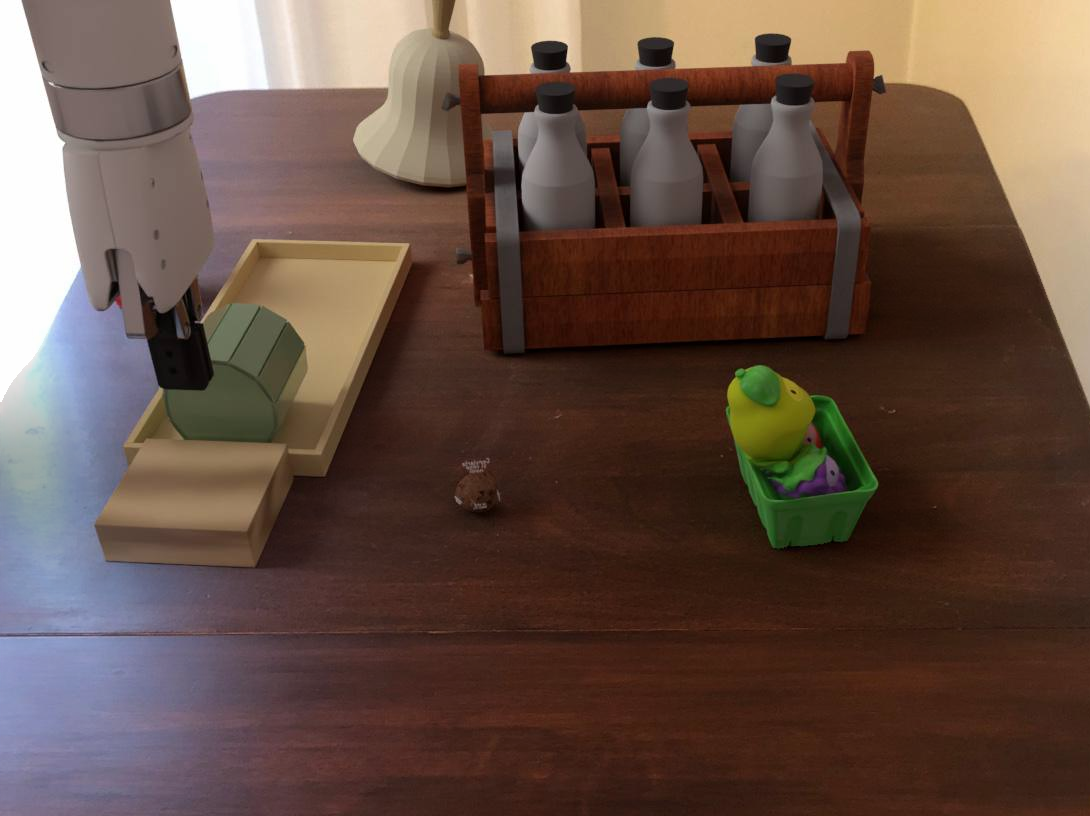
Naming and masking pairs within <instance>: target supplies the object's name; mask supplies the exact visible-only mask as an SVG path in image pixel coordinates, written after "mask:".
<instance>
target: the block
mask: <svg viewBox="0 0 1090 816" xmlns="http://www.w3.org/2000/svg"><path fill="white" fill-rule="evenodd" d="M294 477H295V476H293V471H292V466H291V461H290V455H289V450H288V445H287V444H280V443H254V442H228V441H202V440H176V439H150V438H147V439H146V440H145V441H144V443H143V445H142V446H141V448H140V450H139V451H138V453H137V455H136V456H135V458H134V460H133V461H132V463H131V465H130V466H129V468H127V469H126V471H125V472H124V475H123V476H122V478H121V479H120V481H119V482H118V484H117V486H116V488H115V489H114V491H113V493H112V494H111V496H110V498H109V499H108V501H107V502H106V504H105V505H104V508H103V509H102V510H101V512H100V513H99V516H98V517H97V519H96V521H95V522H94V524H93V526H94V529H95V532H96V535H97V538H98V542H99V546H100V548H101V552H102V554H103V558H104V561H105V562H121V563H141V564H142V563H145V564H166V565H187V566H209V567H210V566H214V567H233V568H234V567H235V568H236V567H237V568H256V566H257V565H258V562H259V560H260V557H261V555H262V554H263V553H262V552H263V551H264V548H265V546H266V544H267V541H268V539H269V536H270V534H271V532H272V530H273V528H274V525H275V523H276V521H277V519H278V516H279V514H280V512H281V510H282V507H283V505H284V503H285V501H286V498H287V496H288V494H289V491H290V489H291V487H292V484H293V482H294V479H295V478H294Z"/></svg>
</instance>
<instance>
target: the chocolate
mask: <svg viewBox="0 0 1090 816" xmlns="http://www.w3.org/2000/svg"><path fill="white" fill-rule="evenodd" d="M490 461H491V460H490V458H489V457H486V459H485V460H483V461H482V460H479V461H476V460H475V459H474V460H473V461H471V462H469V461H468V462H467V460H465V462H462V467H465V469H466V470H468V472H469V473H468V474H466V475H465V476H464V477H463V478H461V480H460V481H459V482H458V484H457V486H456V488H455V493H454V497H453V498H455V502H456V503H458V505H459V506H460V507H461V508H463V509H464V510H465V511H467V512H472V513H475V514H476V513H477V514H479V513H485V512H487V511H490V510H491V509H492V508H493V507H494V505H495V503H496V500H497V498H498V501H499V502H501V497H500V496H501V495H500V493H499V490H498V487H497V483H496V479H495V478H494V476H493V474H491V473H489V471H487V464H490ZM486 463H487V464H486ZM480 464H481V468H480ZM468 465H469V466H468Z"/></svg>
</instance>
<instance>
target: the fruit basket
mask: <svg viewBox="0 0 1090 816" xmlns="http://www.w3.org/2000/svg"><path fill="white" fill-rule="evenodd" d="M734 375H735V377H734V378H733V379H732V381H731V382H730V384H728V385H729V386H728V387H727V392H726V393H727V394H726V397H727V403H728V406H726V407H725V414H726V418H727V422H728V426H729V427H730V430H731V434H732V437H733V441H734V446H735V450H736V455H737V461H738V464H739V470H740V474H741V476H742V479H743V481H744V483H745V485H746V486H747V488H748V493H749V495H750V498H751V500H752V502H753V504H754V506H755V507H756V509H757V514H758V516H759V517H758V518H759V519H760V521H761V524H762V526H763V527H764V529H766V534H767V537H768V540H769V543H770V545H771V547H772V548H773V549H774V548H777V549H776V550H781V549H780V548H782V549H785V548H788V547H794V546H800V548H801V546H802V547H809V546H808V545H810V546H818V544H820V545H825V544H824V543H826V544H828V543H831V542H834V541H835V542H836V543H845V542H847V541H849V539H850V537H851V535H852V533H853V531H854V529H855V527H856V525H857V523H858V521H859V519H860V517H861V515H862V513H863V512H864V509H865V507H866V505H867V503H868V501H869V500H871V499H872V497H873V495H874V494H875V492H876V490H877V489H878V487H879V481H878V479H877V477H876V475H875V473H874V472H873V471H872V469H871V467H870V465H869V463H868V461H867V460H866V458H865V456H864V454H863V452H862V451H861V449H860V446H859V444H858V442H857V441H856V439H855V437H854V435H853V433H852V431H851V430H850V429H849V426H848V425H847V423H846V421H845V419H844V417H843V415H842V414H841V412H840V409H839V407H838V405H837V404H836V402H835V400H834V399H832V397H831V398H830V397H829V396H826V395H816V394H815V395H809V393H808V392H807V391H806V390H805V389H803V388H802V387H800V386H799V385H798V384H797V383H796V382H794V381H792V380H790V379H789V378H787V377H783V376H781V375H780V374H779V373H778V372H775V371H774V370H773V369H772V368H770V367H769V366H766V365H763V364H762V365H760V364H758V365H754V366H752V367H748V368H746V369H744V368H739V369H737V370H736V371H735V372H734ZM832 540H833V541H832ZM844 541H845V542H844ZM827 542H828V543H827ZM790 545H791V546H790ZM787 546H788V547H787ZM784 547H785V548H784Z"/></svg>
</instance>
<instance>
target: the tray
mask: <svg viewBox="0 0 1090 816" xmlns="http://www.w3.org/2000/svg"><path fill="white" fill-rule="evenodd" d="M412 265H413V256H412V247H411V243H409V242H408V243H407V242H377V241H376V242H373V241H372V242H371V241H340V240H339V241H338V240H337V241H336V240H306V239H305V240H301V239H270V238H267V239H265V238H252V239H251V241H250V242H249V244H248V246H247V247H246V249H245V250H244V252H243V254H242V255H241V257H240V259H239V260H238V262H237V263H236V265H235V266H234V268H233V269H232V271H231V273H230V275H229V276H228V278H227V279H226V281H225V282H224V284H223V286H222V287H221V288H220V290H219V292H218V293H217V295H216V296H215V299H214V300H213V302H212V303H211V305H210V306H209V308H208V309H207V311H206V313H205V314H204V316H203V317H202V319H201V321H199V323H203V322H204V320H205V319H206V317H207V316H208V315H209V314H210V313H211V312H213V311H215V310H217V309H220V308H222V307H224V306H226V305H228V304H230V303H232V304H233V303H243V304H255V305H260V307H262V306H264V307H266V308H267V309H269V310H271V311H273V312H274V313H276V314H278V315H280V316H281V317H283V318H285V319H287V322H290V324H291V325H292V326H293V328H294V329H295V331H296V332H297V333H298V335H299V336H300V338H301V339H302V340H303V342H304V343H305V344H304V345H305V346H306V355H307V365H308V370H307V373H306V375H305V377H304V379H303V381H302V383H301V386H300V388H299V390H298V392H297V394H296V396H295V398H294V400H293V402H292V404H291V406H290V408H289V410H288V413H287V415H286V417H285V419H284V421H283V423H282V425H281V427H280V429H279V431H278V433H277V434H276V436H275V438H274V439H273V441H272V443H280V444H287V445H288V450H289V455H290V461H291V466H292V471H293V477H295V476H296V477H319V478H326V476H327V473H328V470H329V468H330V465H331V463H332V461H333V458H334V455H335V453H336V452H337V451H336V450H337V448H338V445H339V443H340V441H341V439H342V436H343V433H344V431H345V429H346V426H347V424H348V421H349V419H350V416H351V414H352V412H353V409H354V406H355V404H356V402H357V399H358V397H359V395H360V393H361V390H362V387H363V384H364V383H365V379H366V378H367V375H368V373H369V370H370V368H371V365H372V363H373V360H374V358H375V355H376V352H377V350H378V348H379V345H380V343H381V341H382V338H383V336H384V333H385V331H386V328H387V326H388V324H389V322H390V319H391V316H392V313H393V312H394V310H395V306H396V304H397V302H398V299H399V297H400V295H401V292H402V289H403V287H404V285H405V282H406V279H407V277H408V275H409V272H410V269H411V267H412ZM287 322H286V323H287ZM162 393H163V389H162V388H161V387H160V386H159V388H158V390H157V391H156V393H155V394H154V396H153V398H152V399H151V401H150V403H149V404H148V406H147V407H146V409H145V410H144V412H143V414H142V415H141V417H140V419H139V420H138V421H137V423H136V425H135V427H134V428H133V430H132V431H131V433H130V434H129V436H128V438H127V439H126V441H125V443H124V444H123V446H122V449H123V452H124V453H123V454H124V456H125V460H126V463H127V467H128V468H129V466H130V465H131V463H132V461H133V460H134V458H135V456H136V455H137V453H138V451H139V450H140V448H141V446H142V445H143V443H144V441H145V440H146V439H147V438H150V439H176V440H184V439H183V438H182V437H181V435H180V434H179V433H178V432H177V430H176V429H175V428H174V427H173V425H172V424H171V423H170V422H169V421H168V418H167V416H166V411H165V405H164V400H163V395H162ZM128 468H127V469H128Z"/></svg>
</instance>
